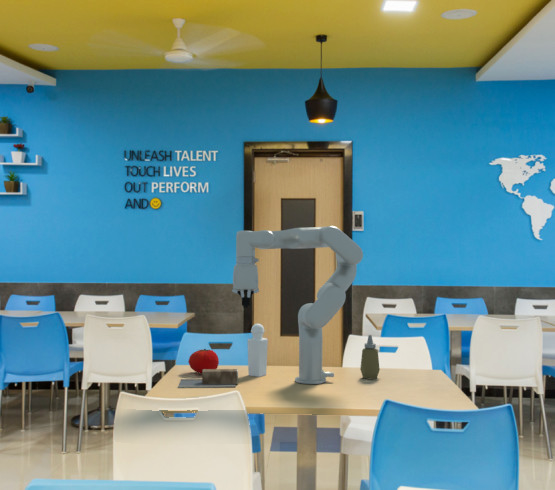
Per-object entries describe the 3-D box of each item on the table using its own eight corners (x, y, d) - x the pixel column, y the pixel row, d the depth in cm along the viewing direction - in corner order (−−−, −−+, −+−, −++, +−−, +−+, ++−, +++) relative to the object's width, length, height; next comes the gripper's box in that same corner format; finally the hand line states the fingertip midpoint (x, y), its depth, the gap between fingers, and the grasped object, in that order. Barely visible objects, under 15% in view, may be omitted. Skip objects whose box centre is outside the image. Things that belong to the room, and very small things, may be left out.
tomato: (224, 373, 253) (225, 349, 253) (203, 377, 244) (203, 352, 244) (204, 369, 262) (204, 345, 262) (182, 373, 252) (183, 348, 253)
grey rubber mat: (235, 380, 239) (235, 378, 239) (235, 387, 225) (235, 385, 225) (180, 380, 237) (181, 379, 237) (177, 387, 223) (177, 386, 223)
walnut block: (238, 369, 235) (202, 369, 233) (238, 371, 230) (202, 371, 228) (237, 381, 234) (202, 381, 233) (238, 384, 229) (202, 384, 228)
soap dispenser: (259, 377, 245) (260, 324, 246) (246, 375, 248) (247, 323, 249) (267, 374, 251) (268, 323, 251) (255, 373, 254) (255, 322, 255)
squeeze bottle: (358, 379, 243) (358, 335, 243) (362, 375, 250) (362, 333, 251) (377, 380, 240) (377, 336, 240) (381, 377, 247) (381, 334, 248)
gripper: (263, 261, 238) (263, 306, 237) (227, 261, 237) (226, 306, 236) (264, 261, 230) (264, 308, 230) (226, 261, 229) (226, 308, 229)
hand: (245, 307), depth 233 cm, fingers closed
